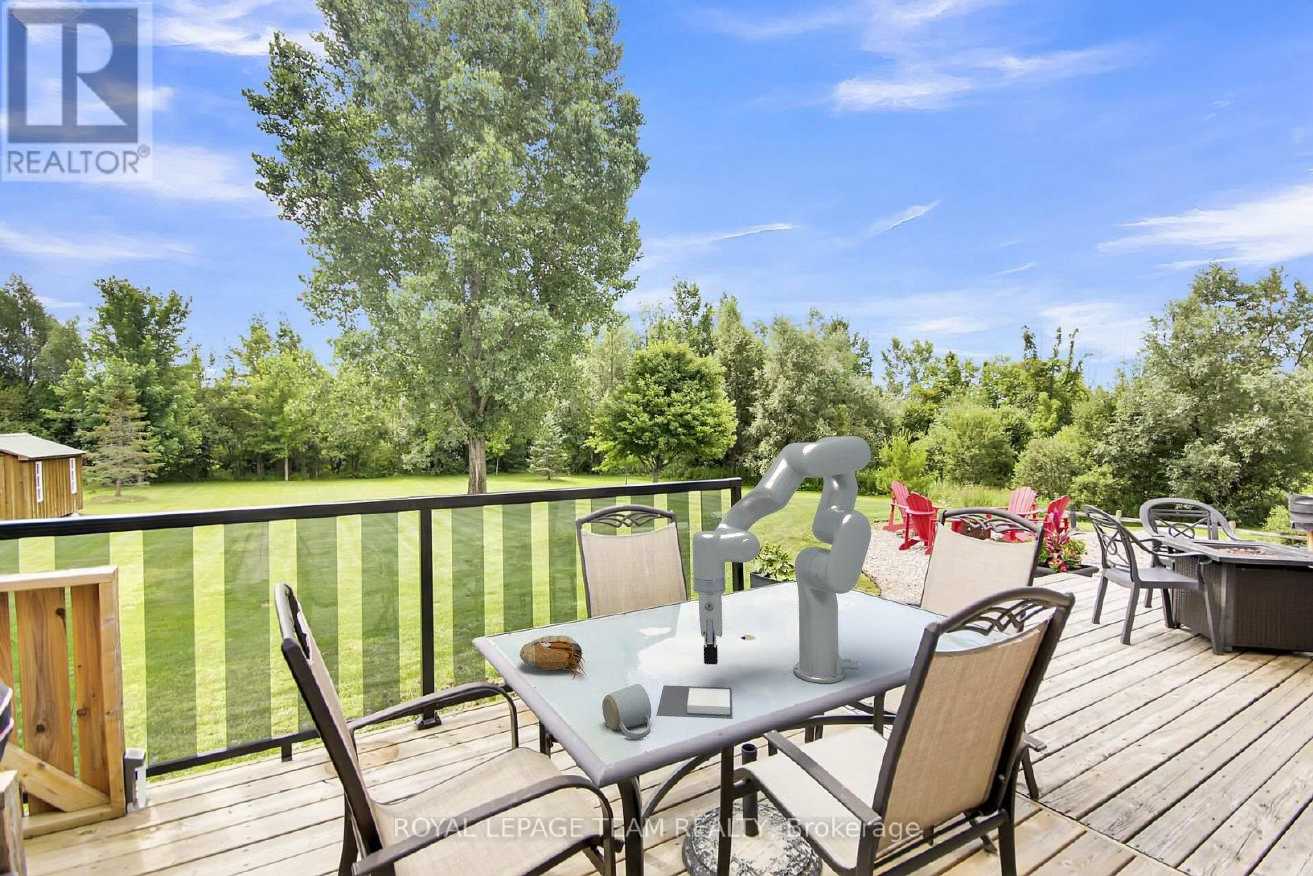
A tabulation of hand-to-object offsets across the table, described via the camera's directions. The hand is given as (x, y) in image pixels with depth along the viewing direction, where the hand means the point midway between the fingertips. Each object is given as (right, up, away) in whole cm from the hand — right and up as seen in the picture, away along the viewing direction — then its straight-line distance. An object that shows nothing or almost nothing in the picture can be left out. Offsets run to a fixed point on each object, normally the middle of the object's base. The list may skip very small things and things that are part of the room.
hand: (710, 662), depth 139 cm
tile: (-1, -5, -5) cm, 7 cm away
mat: (-4, -7, -7) cm, 10 cm away
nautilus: (-38, -8, +14) cm, 41 cm away
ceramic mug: (-18, -7, -18) cm, 26 cm away
